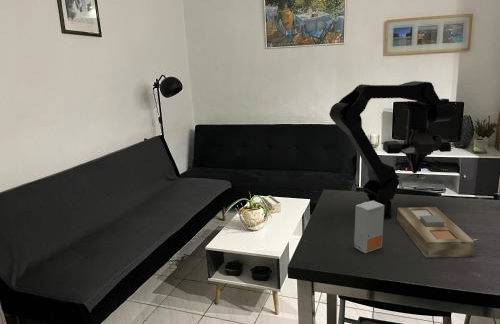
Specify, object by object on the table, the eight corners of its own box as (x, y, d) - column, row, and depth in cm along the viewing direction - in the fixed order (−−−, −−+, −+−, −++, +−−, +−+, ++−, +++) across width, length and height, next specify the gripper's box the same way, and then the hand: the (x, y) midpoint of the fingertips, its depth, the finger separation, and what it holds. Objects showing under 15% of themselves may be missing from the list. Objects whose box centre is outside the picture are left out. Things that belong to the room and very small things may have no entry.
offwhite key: (416, 223, 107) (416, 216, 106) (410, 217, 111) (411, 210, 111) (432, 223, 107) (432, 216, 106) (425, 217, 111) (426, 210, 110)
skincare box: (365, 254, 95) (366, 210, 92) (353, 247, 99) (354, 204, 96) (383, 247, 98) (385, 204, 95) (370, 241, 102) (372, 199, 98)
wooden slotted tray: (426, 257, 92) (427, 242, 91) (396, 220, 113) (397, 207, 112) (472, 256, 92) (474, 241, 91) (434, 219, 113) (435, 206, 112)
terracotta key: (437, 247, 93) (437, 239, 93) (429, 239, 98) (430, 231, 97) (455, 247, 93) (456, 238, 93) (447, 238, 97) (448, 231, 97)
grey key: (426, 230, 100) (426, 222, 99) (419, 223, 104) (420, 215, 103) (443, 229, 99) (444, 221, 99) (436, 222, 104) (437, 215, 103)
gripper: (394, 129, 107) (392, 182, 111) (462, 127, 106) (457, 180, 110) (383, 123, 118) (381, 171, 122) (444, 120, 116) (440, 169, 120)
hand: (414, 173), depth 118 cm, fingers closed
